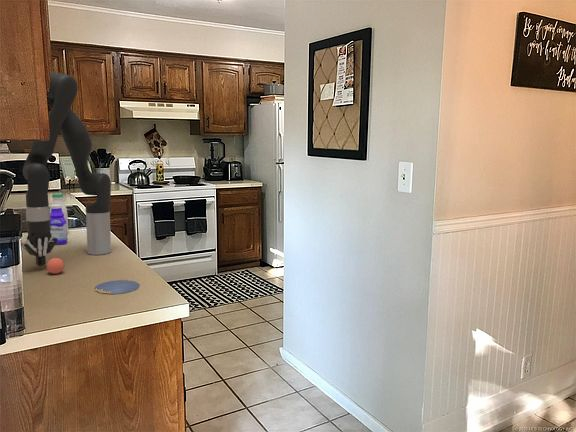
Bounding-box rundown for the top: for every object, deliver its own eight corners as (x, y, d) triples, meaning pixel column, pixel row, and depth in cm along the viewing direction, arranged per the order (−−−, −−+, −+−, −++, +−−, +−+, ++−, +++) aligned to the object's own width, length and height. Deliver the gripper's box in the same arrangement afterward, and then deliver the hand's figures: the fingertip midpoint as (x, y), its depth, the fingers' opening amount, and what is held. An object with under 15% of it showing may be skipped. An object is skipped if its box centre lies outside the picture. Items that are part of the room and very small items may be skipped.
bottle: (48, 245, 209) (46, 206, 206) (51, 242, 214) (48, 204, 211) (66, 244, 211) (64, 206, 208) (68, 242, 216) (66, 204, 213)
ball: (48, 271, 171) (47, 256, 170) (65, 270, 173) (64, 255, 172) (45, 276, 166) (44, 260, 165) (63, 275, 167) (62, 259, 167)
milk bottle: (63, 232, 236) (61, 192, 232) (71, 234, 231) (69, 193, 228) (48, 234, 230) (45, 193, 227) (55, 237, 225) (53, 195, 222)
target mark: (95, 282, 161) (95, 281, 161) (139, 279, 165) (139, 279, 165) (92, 296, 147) (92, 295, 147) (140, 292, 152) (140, 291, 152)
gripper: (26, 222, 162) (29, 271, 165) (61, 217, 173) (64, 263, 176) (13, 220, 166) (17, 268, 169) (49, 215, 177) (51, 260, 180)
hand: (41, 265), depth 173 cm, fingers closed
